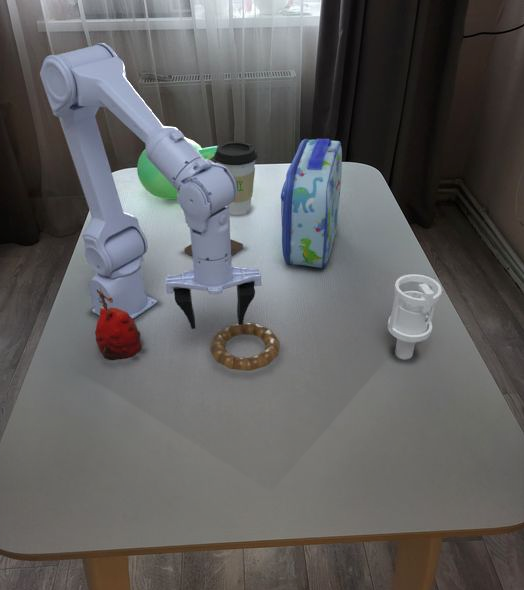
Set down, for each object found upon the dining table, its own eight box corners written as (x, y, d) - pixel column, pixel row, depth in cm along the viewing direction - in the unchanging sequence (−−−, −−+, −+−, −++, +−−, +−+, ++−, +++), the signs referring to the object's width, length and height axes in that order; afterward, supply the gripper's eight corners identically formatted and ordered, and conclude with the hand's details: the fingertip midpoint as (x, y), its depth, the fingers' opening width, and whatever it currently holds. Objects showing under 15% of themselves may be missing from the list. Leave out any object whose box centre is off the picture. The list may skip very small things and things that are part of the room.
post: (216, 266, 116) (214, 231, 111) (184, 253, 120) (181, 218, 115) (243, 248, 121) (242, 214, 116) (212, 236, 126) (209, 202, 120)
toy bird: (180, 174, 150) (174, 118, 141) (226, 192, 142) (223, 134, 133) (128, 197, 140) (118, 139, 130) (175, 218, 132) (168, 157, 122)
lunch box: (295, 213, 133) (298, 125, 120) (339, 218, 132) (348, 128, 118) (275, 273, 114) (276, 175, 100) (327, 278, 113) (336, 180, 99)
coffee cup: (211, 204, 137) (207, 144, 127) (247, 197, 140) (246, 137, 130) (226, 222, 130) (223, 159, 120) (264, 214, 133) (264, 152, 124)
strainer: (393, 370, 92) (409, 297, 82) (376, 344, 97) (388, 271, 87) (432, 363, 94) (451, 289, 84) (412, 337, 99) (429, 265, 89)
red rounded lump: (150, 344, 97) (137, 272, 87) (130, 371, 92) (114, 297, 82) (112, 335, 99) (96, 263, 89) (90, 360, 94) (70, 287, 84)
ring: (251, 385, 90) (251, 374, 88) (197, 356, 95) (196, 345, 93) (292, 347, 97) (292, 336, 95) (240, 322, 102) (239, 312, 100)
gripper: (162, 269, 78) (172, 342, 87) (264, 261, 80) (264, 334, 89) (161, 243, 83) (171, 315, 92) (257, 236, 85) (258, 308, 94)
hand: (216, 323), depth 91 cm, fingers open, 7 cm apart
